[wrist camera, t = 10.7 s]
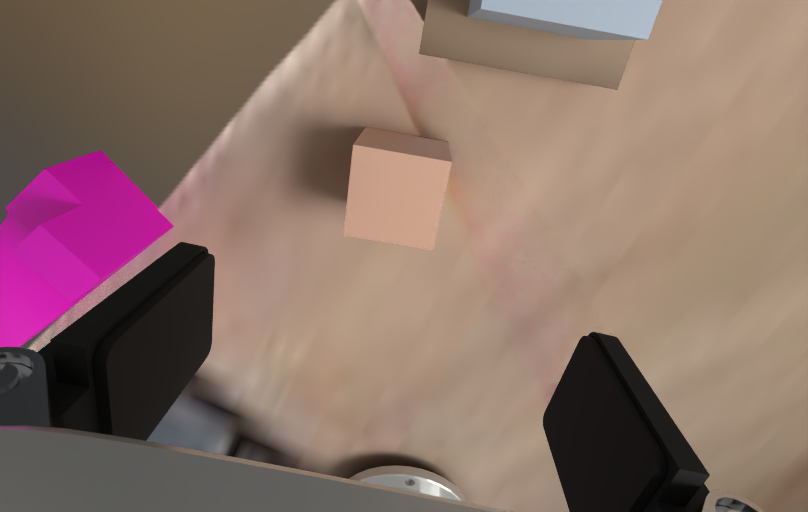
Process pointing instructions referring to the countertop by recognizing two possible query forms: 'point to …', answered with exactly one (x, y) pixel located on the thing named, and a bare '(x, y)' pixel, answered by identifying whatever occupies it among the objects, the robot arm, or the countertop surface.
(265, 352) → the countertop surface
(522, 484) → the countertop surface
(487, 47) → the walnut base plate
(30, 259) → the toy block
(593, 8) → the slate block
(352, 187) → the terracotta cube
